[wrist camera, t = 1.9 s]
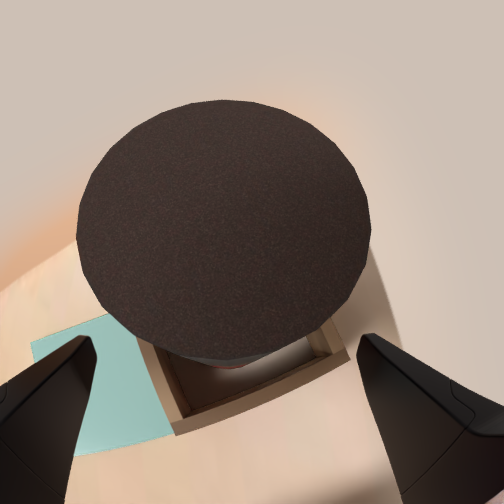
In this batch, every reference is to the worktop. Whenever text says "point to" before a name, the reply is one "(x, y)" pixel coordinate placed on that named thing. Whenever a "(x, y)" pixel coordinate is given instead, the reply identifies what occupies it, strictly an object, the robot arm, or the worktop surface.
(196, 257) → the deodorant
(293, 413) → the worktop surface
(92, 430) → the coaster
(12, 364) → the worktop surface
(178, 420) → the tub
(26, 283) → the worktop surface
